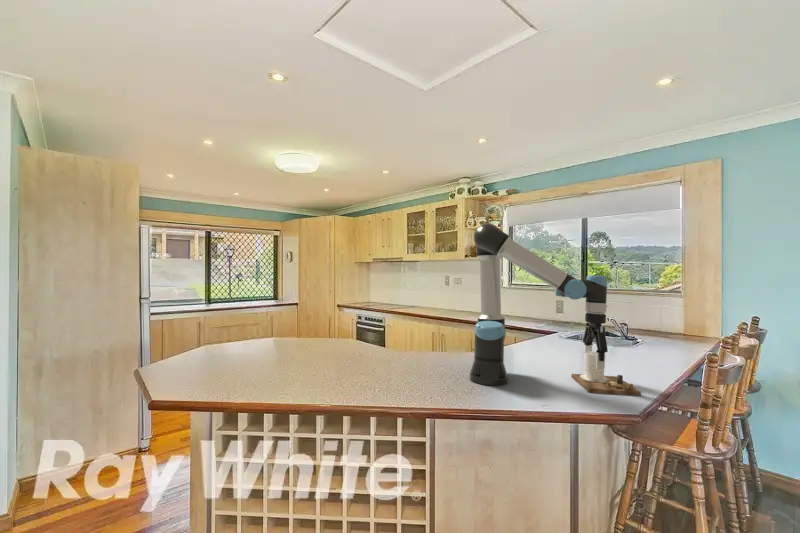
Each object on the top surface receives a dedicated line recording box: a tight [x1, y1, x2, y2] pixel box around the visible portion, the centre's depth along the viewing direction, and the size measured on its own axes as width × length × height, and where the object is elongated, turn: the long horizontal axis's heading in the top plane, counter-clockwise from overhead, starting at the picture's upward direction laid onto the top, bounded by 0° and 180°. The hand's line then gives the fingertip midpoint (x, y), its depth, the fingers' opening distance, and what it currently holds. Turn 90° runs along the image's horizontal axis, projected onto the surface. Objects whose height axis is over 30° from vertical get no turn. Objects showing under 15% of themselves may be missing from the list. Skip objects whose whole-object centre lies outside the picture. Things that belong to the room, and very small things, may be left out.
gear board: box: [571, 373, 642, 397], centre depth 150 cm, size 18×21×6 cm
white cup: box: [583, 351, 606, 380], centre depth 154 cm, size 8×8×10 cm
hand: (593, 364), depth 154 cm, fingers open, 13 cm apart
